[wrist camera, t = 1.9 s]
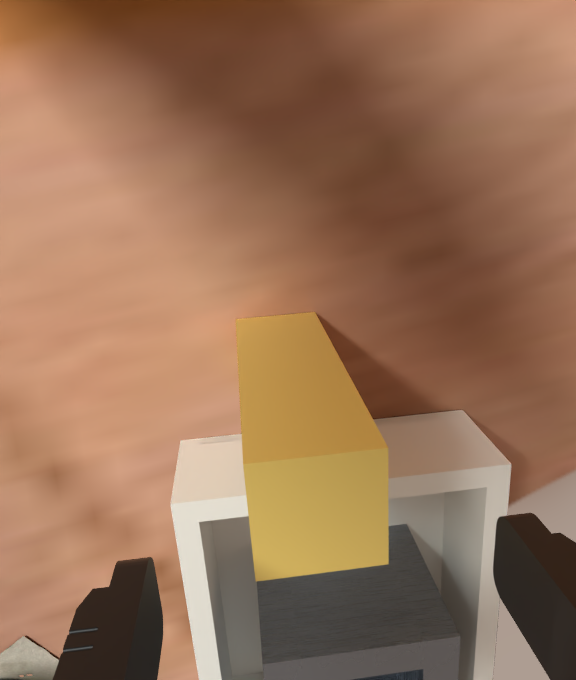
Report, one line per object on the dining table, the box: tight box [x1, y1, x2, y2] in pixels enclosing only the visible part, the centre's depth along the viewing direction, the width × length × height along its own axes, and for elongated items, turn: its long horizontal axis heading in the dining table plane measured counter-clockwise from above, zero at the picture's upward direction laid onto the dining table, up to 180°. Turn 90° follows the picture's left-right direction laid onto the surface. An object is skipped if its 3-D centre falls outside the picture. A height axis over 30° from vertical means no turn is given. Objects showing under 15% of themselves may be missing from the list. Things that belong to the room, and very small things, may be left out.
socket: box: [257, 524, 461, 680], centre depth 26 cm, size 8×8×7 cm
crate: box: [171, 410, 512, 680], centre depth 27 cm, size 16×14×5 cm
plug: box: [236, 312, 389, 582], centre depth 20 cm, size 4×4×12 cm
